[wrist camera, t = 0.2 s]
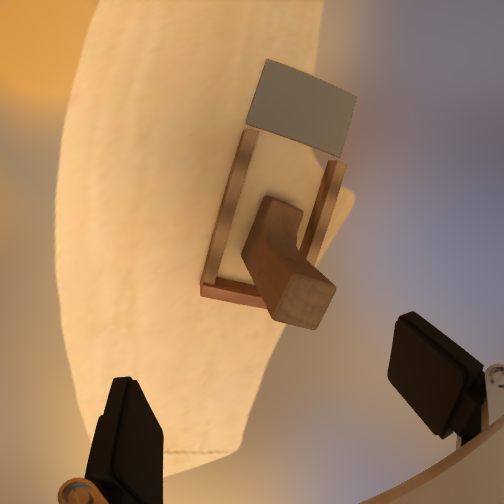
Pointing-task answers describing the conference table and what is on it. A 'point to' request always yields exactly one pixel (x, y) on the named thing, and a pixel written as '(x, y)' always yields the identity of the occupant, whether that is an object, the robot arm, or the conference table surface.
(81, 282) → the conference table surface
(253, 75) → the conference table surface
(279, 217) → the wooden block
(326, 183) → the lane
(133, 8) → the conference table surface
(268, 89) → the mat
